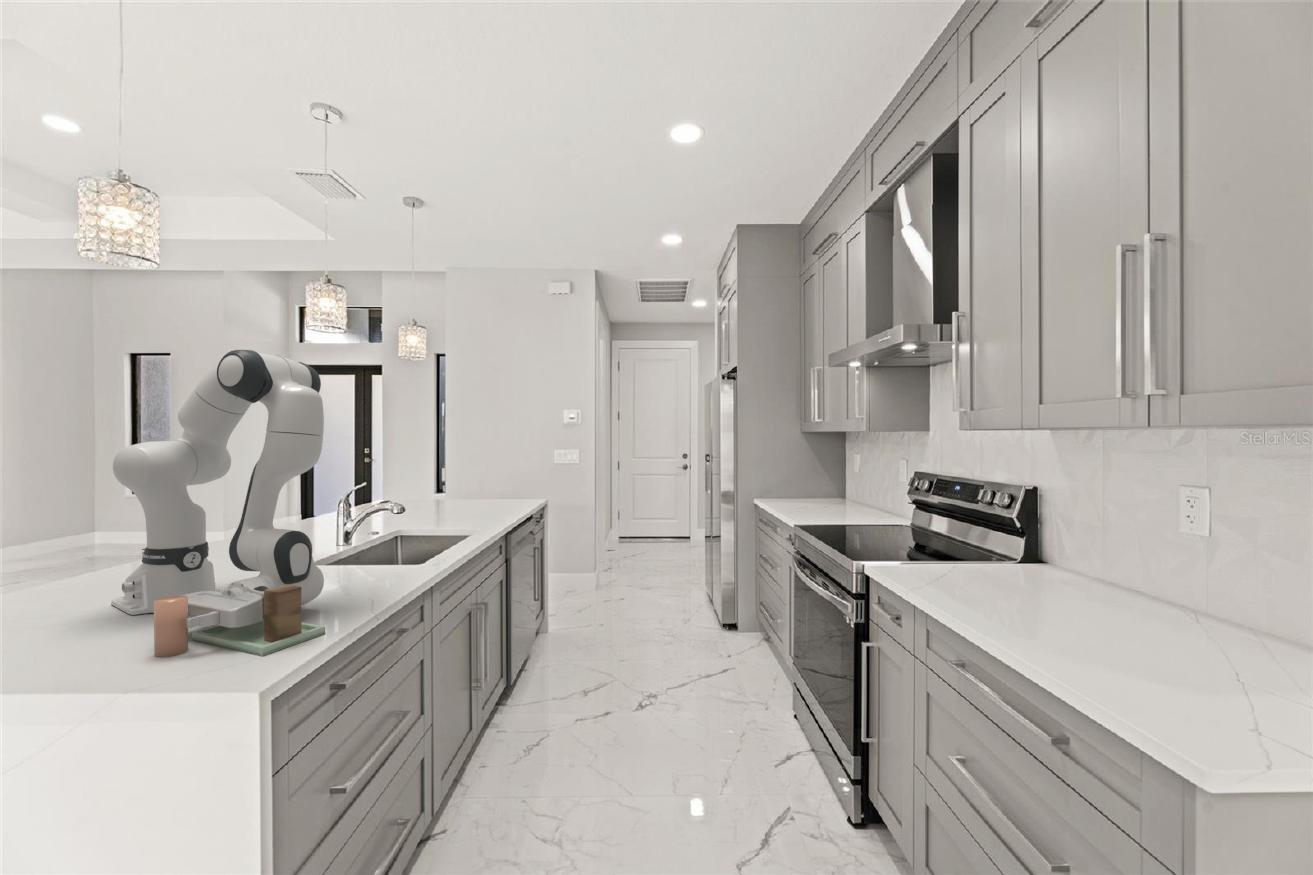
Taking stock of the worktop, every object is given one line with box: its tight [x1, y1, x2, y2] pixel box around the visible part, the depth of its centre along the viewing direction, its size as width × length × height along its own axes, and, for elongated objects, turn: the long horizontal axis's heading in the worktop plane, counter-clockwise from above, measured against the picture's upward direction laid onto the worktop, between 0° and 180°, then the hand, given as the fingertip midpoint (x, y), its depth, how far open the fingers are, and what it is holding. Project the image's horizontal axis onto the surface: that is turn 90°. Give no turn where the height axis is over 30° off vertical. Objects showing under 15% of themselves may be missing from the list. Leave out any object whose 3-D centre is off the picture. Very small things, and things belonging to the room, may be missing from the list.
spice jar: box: [153, 595, 189, 658], centre depth 114 cm, size 5×5×10 cm
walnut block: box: [264, 585, 303, 643], centre depth 119 cm, size 4×4×10 cm
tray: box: [191, 621, 326, 657], centre depth 122 cm, size 21×13×2 cm, turn 67°
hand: (170, 620), depth 114 cm, fingers open, 8 cm apart
